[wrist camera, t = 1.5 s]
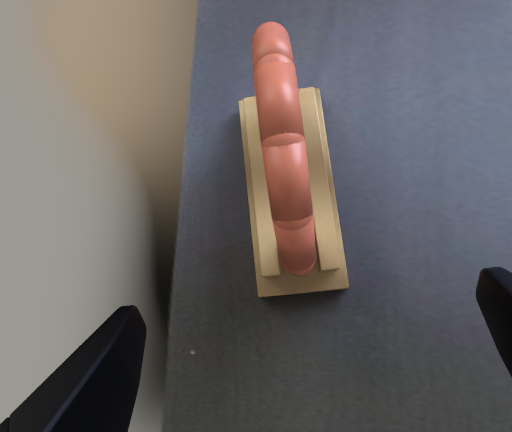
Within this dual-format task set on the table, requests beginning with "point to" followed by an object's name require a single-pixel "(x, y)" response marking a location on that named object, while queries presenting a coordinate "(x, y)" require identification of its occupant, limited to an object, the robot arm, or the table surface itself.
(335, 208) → the stand
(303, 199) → the ring
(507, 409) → the table surface
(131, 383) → the robot arm
